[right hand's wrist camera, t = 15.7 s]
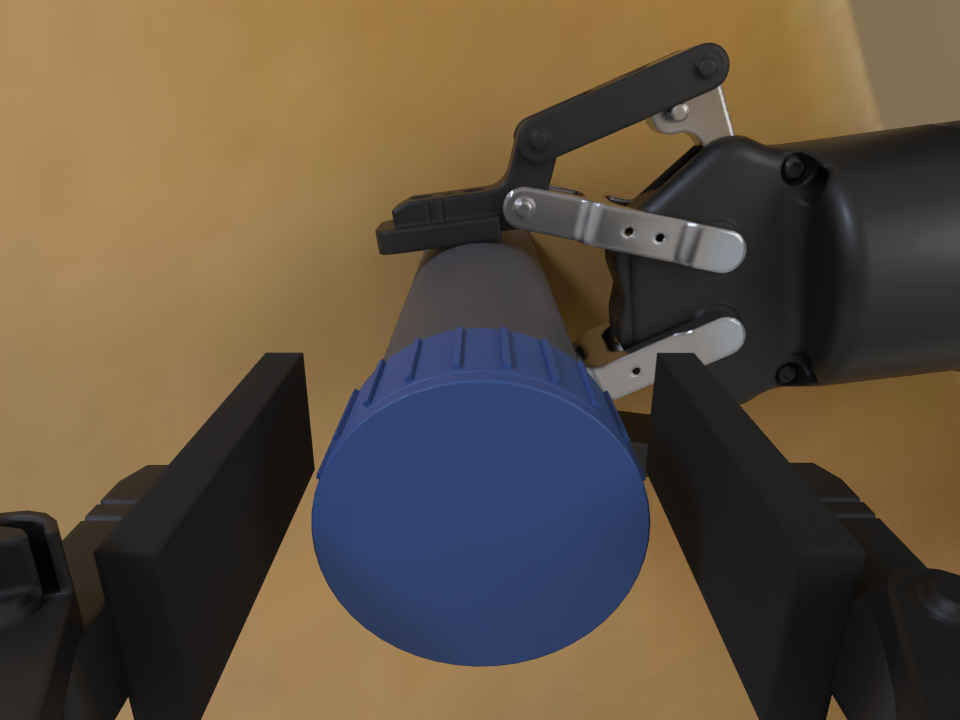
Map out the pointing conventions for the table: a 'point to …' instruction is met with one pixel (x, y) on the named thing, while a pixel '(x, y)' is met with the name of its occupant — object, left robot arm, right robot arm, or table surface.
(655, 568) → the table surface
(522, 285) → the dark gray cylinder
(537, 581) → the lid
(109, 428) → the table surface
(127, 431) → the table surface
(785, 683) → the right robot arm
